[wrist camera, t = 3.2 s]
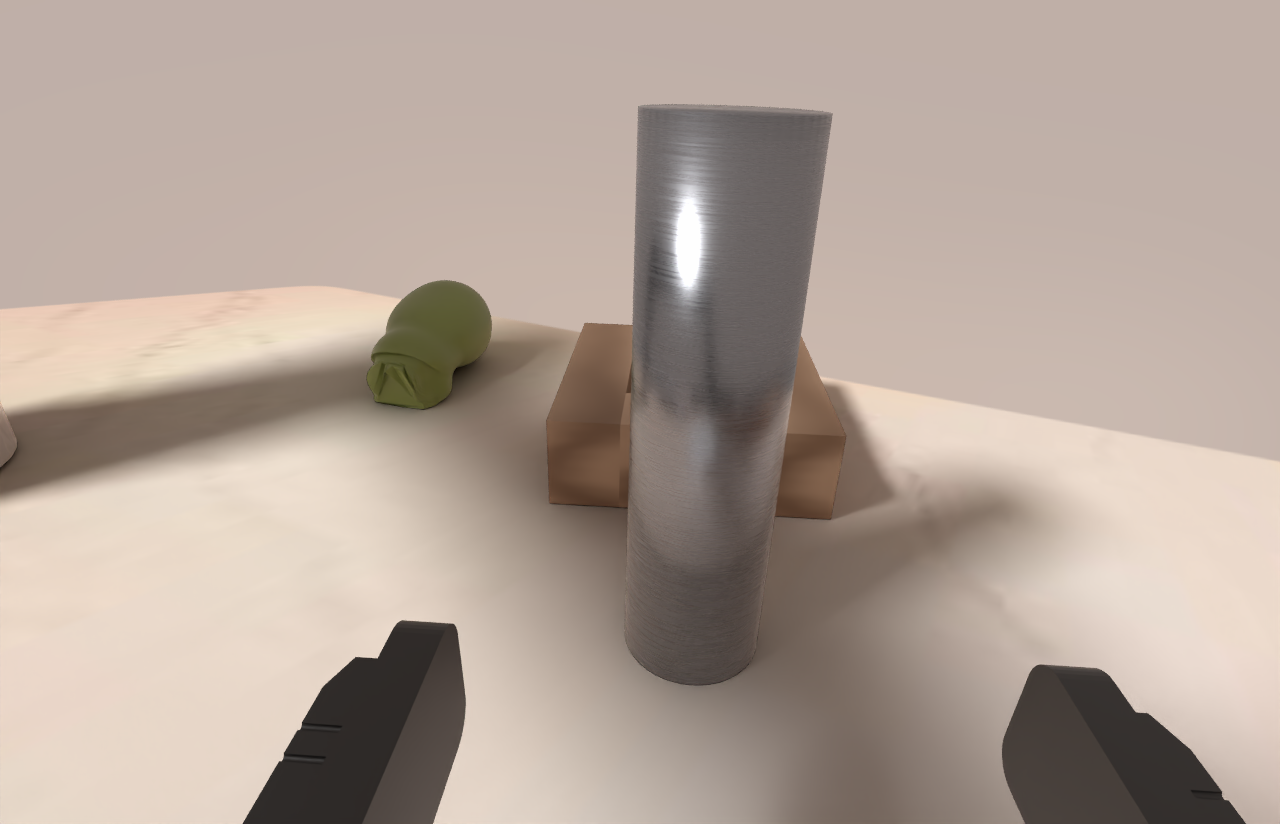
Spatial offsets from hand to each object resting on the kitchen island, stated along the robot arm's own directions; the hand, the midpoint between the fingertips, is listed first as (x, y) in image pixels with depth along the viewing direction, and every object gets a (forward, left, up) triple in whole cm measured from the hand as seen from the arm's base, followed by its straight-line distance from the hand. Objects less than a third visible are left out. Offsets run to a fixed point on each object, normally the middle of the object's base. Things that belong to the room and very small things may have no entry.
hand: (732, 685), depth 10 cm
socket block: (0, +23, -9) cm, 25 cm away
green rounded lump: (-15, +30, -9) cm, 34 cm away
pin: (0, +10, -9) cm, 14 cm away
